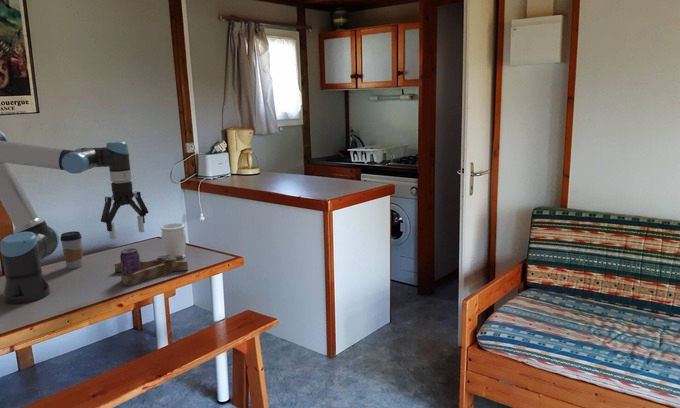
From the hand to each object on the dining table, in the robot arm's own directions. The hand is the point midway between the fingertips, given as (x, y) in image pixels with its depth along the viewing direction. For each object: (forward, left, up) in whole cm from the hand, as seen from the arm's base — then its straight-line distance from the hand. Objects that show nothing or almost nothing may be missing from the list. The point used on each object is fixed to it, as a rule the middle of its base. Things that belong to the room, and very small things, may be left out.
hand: (127, 235), depth 209 cm
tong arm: (+10, +2, -18) cm, 21 cm away
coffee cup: (-5, +37, -18) cm, 41 cm away
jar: (+27, +9, -18) cm, 34 cm away
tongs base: (+8, -3, -18) cm, 20 cm away
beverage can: (0, 0, -18) cm, 18 cm away
